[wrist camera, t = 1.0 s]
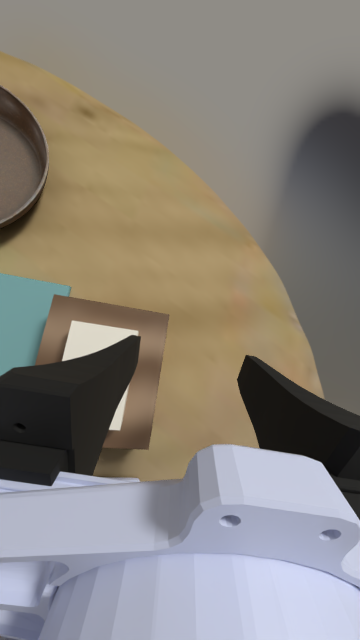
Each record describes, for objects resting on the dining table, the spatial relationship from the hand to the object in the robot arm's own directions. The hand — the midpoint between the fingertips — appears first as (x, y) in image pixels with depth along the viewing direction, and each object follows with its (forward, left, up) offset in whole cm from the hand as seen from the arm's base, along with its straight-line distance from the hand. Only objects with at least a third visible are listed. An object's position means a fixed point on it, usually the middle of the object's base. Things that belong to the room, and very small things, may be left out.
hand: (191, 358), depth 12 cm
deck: (-3, +7, -12) cm, 14 cm away
